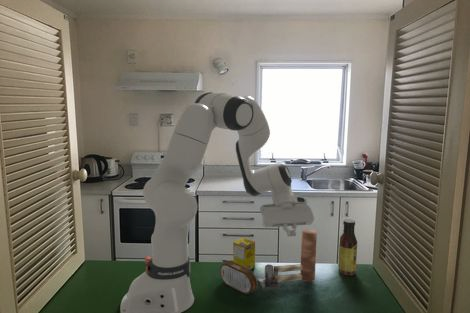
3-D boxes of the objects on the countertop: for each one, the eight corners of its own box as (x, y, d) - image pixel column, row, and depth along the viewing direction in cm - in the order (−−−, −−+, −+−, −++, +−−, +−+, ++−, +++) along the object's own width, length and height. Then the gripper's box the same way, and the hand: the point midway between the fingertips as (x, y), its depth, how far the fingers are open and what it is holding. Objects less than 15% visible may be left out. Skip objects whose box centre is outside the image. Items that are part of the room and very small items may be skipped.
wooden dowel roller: (276, 284, 117) (277, 236, 114) (271, 277, 122) (272, 231, 119) (317, 280, 119) (319, 234, 117) (311, 273, 124) (313, 228, 122)
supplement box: (255, 268, 131) (255, 241, 129) (245, 274, 127) (245, 246, 125) (243, 263, 135) (243, 237, 133) (233, 269, 130) (233, 242, 129)
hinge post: (262, 290, 116) (262, 271, 115) (258, 281, 122) (258, 263, 121) (279, 289, 117) (280, 269, 116) (274, 280, 123) (275, 261, 122)
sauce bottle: (356, 277, 125) (360, 224, 121) (338, 275, 126) (341, 223, 123) (354, 269, 131) (357, 218, 128) (337, 267, 132) (339, 217, 129)
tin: (257, 295, 113) (258, 271, 112) (251, 299, 111) (251, 274, 110) (224, 279, 124) (224, 256, 122) (218, 282, 121) (218, 259, 120)
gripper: (260, 200, 135) (267, 234, 127) (310, 198, 138) (319, 230, 131) (257, 208, 140) (263, 240, 132) (305, 205, 144) (314, 237, 136)
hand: (292, 235), depth 131 cm, fingers closed
